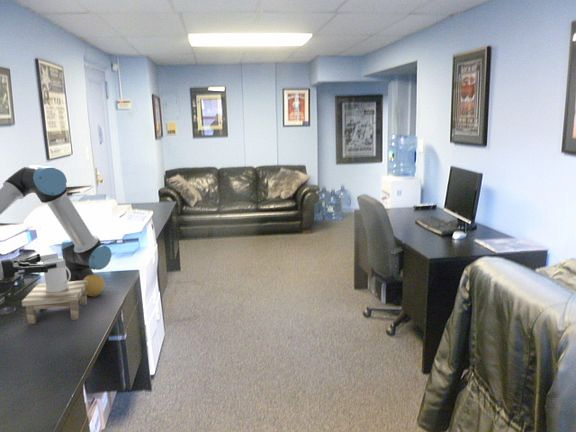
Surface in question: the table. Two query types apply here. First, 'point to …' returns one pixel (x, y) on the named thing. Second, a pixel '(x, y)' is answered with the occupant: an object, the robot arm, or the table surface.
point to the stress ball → (94, 285)
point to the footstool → (55, 299)
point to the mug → (56, 278)
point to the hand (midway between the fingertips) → (61, 259)
